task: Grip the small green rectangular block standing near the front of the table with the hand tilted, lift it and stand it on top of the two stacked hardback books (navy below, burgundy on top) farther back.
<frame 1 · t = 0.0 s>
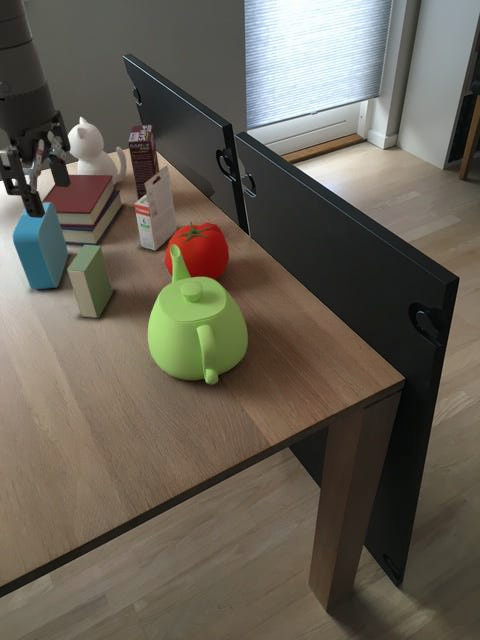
hand: (51, 200, 76), 22 cm above the table, tool pointing down, fingers open, 8 cm apart
ink box: (160, 240, 108), on the table
book stack: (83, 223, 114), on the table
cat figurine: (104, 185, 127), on the table
teapot: (198, 348, 85), on the table
supplement box: (152, 203, 119), on the table
green rectangular block: (97, 304, 94), on the table
blue rounded block: (51, 273, 101), on the table
tomato: (200, 277, 99), on the table
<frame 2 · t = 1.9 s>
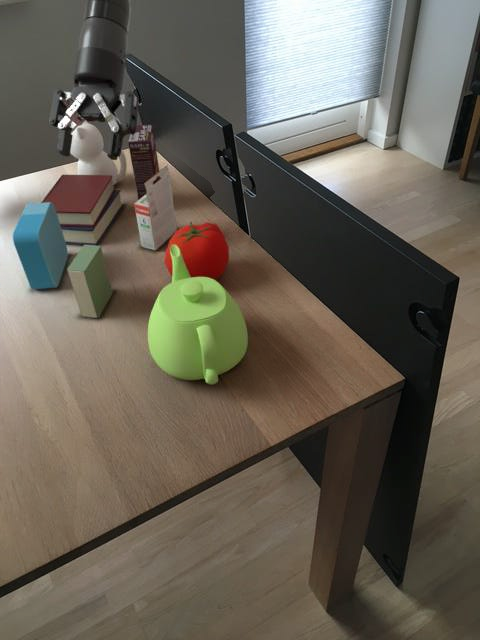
hand: (87, 156, 86), 22 cm above the table, tool tilted 45°, fingers open, 8 cm apart
nothing on the table moved.
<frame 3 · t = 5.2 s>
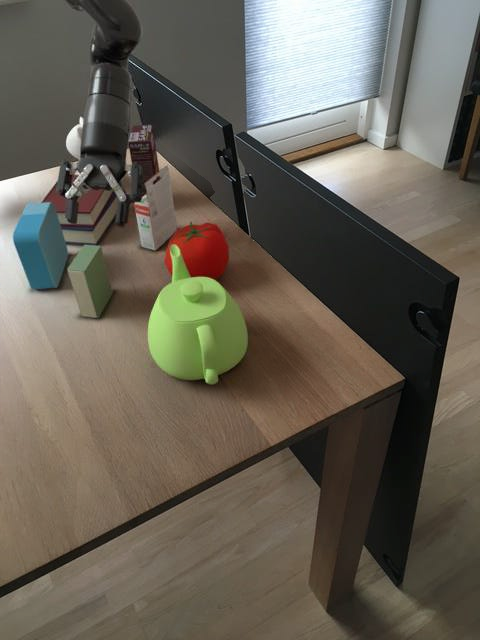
hand: (95, 224, 90), 12 cm above the table, tool tilted 45°, fingers open, 8 cm apart
nothing on the table moved.
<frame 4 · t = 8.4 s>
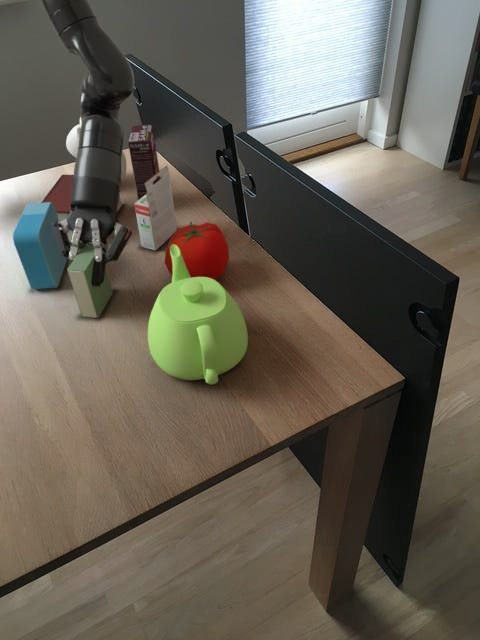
hand: (85, 284, 88), 6 cm above the table, tool tilted 45°, fingers closed on green rectangular block, 3 cm apart
green rectangular block: (97, 304, 94), on the table, touching gripper
everything else where it was.
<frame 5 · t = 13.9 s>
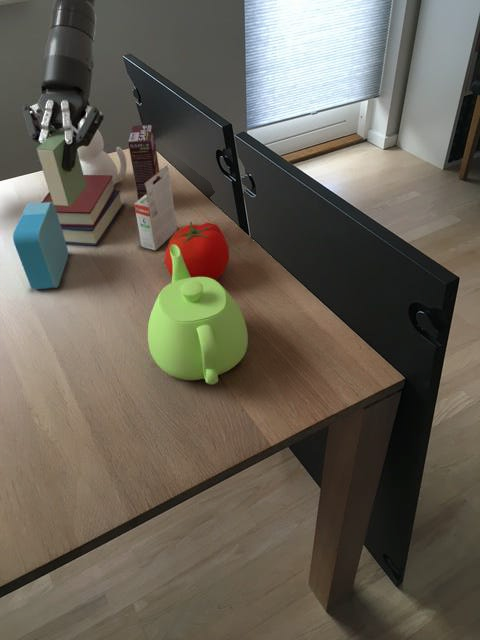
hand: (56, 168, 87), 21 cm above the table, tool tilted 45°, fingers closed on green rectangular block, 3 cm apart
green rectangular block: (70, 195, 92), point 15 cm above the table, touching gripper
everything else where it was.
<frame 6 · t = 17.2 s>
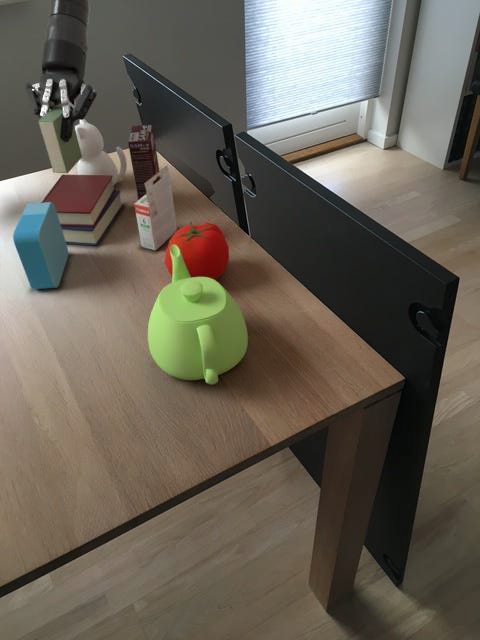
hand: (55, 139, 99), 19 cm above the table, tool tilted 45°, fingers closed on green rectangular block, 3 cm apart
green rectangular block: (68, 164, 105), point 13 cm above the table, touching gripper
everything else where it was.
when the fingers open (13 cm above the table, at t = 19.6 s): green rectangular block stays where it is, resting on book stack.
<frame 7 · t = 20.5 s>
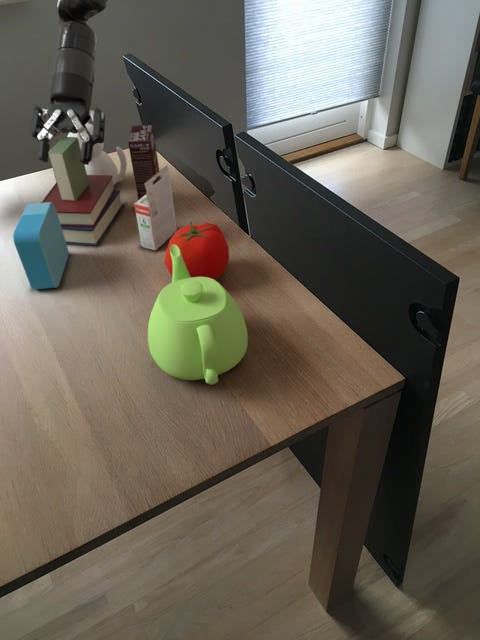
hand: (63, 162, 103), 14 cm above the table, tool tilted 45°, fingers open, 8 cm apart
green rectangular block: (75, 191, 109), point 7 cm above the table, touching book stack
everything else where it was.
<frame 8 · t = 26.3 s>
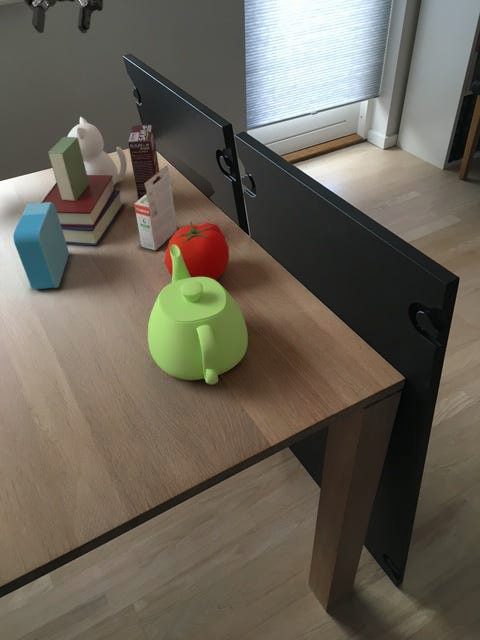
hand: (60, 30, 98), 35 cm above the table, tool tilted 45°, fingers open, 8 cm apart
nothing on the table moved.
at the end: green rectangular block inside the target area on the book stack (0.1 cm from its centre), point 7.3 cm above the book stack's base; green rectangular block tilted 0°; the gripper is holding nothing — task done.
